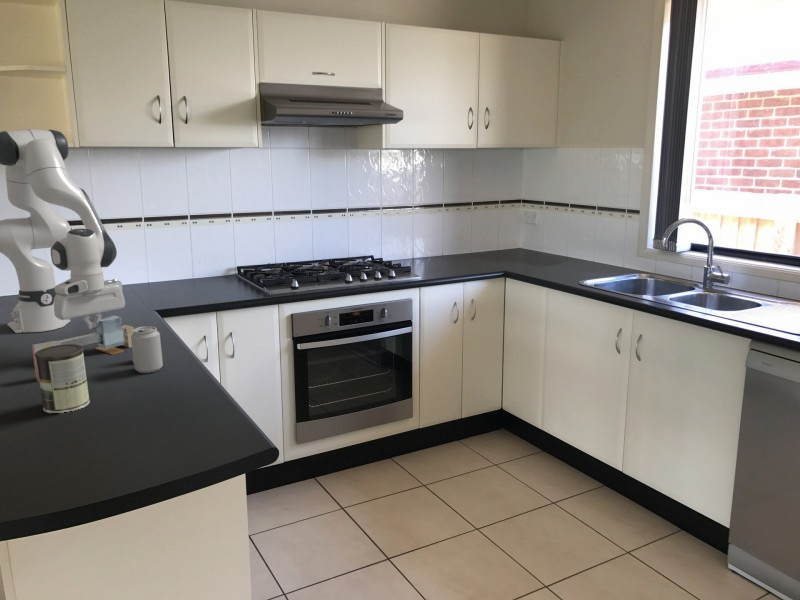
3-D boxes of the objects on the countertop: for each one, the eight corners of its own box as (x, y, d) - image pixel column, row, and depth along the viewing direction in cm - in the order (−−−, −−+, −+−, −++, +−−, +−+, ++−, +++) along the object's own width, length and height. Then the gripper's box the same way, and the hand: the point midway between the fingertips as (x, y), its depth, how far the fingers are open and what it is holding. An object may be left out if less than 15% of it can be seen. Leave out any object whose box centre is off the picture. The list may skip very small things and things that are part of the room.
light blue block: (97, 345, 206) (93, 319, 204) (115, 341, 210) (112, 315, 208) (105, 348, 202) (102, 321, 200) (124, 344, 207) (121, 317, 205)
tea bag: (36, 378, 181) (31, 343, 179) (63, 373, 185) (58, 339, 183) (37, 382, 178) (32, 346, 176) (65, 377, 182) (60, 342, 180)
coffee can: (34, 414, 156) (25, 356, 153) (57, 398, 166) (49, 344, 163) (77, 413, 156) (69, 356, 152) (97, 397, 166) (91, 343, 162)
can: (134, 367, 189) (129, 327, 186) (162, 364, 191) (158, 324, 189) (135, 375, 182) (130, 333, 179) (164, 371, 185) (160, 330, 182)
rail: (44, 361, 196) (41, 341, 195) (123, 342, 215) (121, 323, 214) (59, 367, 190) (57, 346, 189) (140, 347, 209) (138, 328, 207)
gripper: (115, 277, 208) (120, 319, 211) (48, 287, 193) (54, 333, 196) (126, 279, 204) (131, 322, 207) (58, 290, 189) (64, 337, 192)
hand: (93, 328), depth 201 cm, fingers closed
